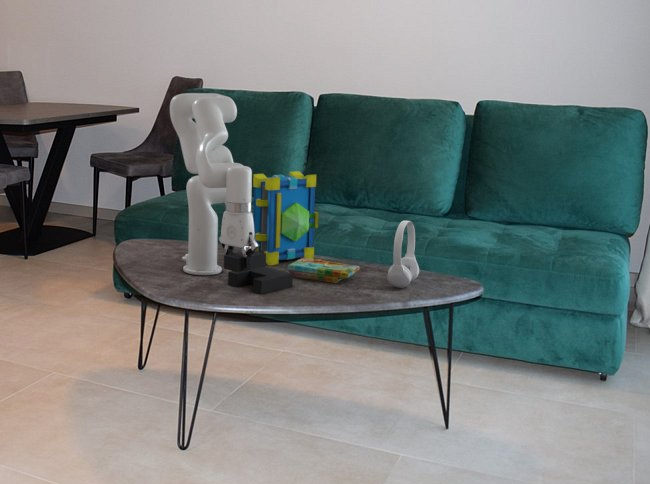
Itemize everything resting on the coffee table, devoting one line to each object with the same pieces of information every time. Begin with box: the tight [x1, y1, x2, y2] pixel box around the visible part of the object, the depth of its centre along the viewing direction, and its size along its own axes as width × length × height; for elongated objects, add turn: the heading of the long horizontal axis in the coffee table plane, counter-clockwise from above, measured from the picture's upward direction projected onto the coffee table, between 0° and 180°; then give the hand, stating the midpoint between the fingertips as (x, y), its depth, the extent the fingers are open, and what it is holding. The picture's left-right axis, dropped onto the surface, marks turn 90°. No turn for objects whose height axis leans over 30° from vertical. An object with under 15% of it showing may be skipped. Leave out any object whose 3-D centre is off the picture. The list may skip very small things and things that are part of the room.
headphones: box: [386, 220, 420, 289], centre depth 254 cm, size 7×18×20 cm, turn 151°
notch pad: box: [227, 266, 294, 295], centre depth 251 cm, size 14×14×4 cm
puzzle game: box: [287, 257, 361, 284], centre depth 262 cm, size 12×5×20 cm
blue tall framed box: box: [252, 170, 320, 267], centre depth 285 cm, size 14×23×30 cm, turn 122°
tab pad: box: [223, 250, 267, 272], centre depth 245 cm, size 12×6×4 cm, turn 132°
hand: (237, 267), depth 243 cm, fingers closed on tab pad, 6 cm apart
